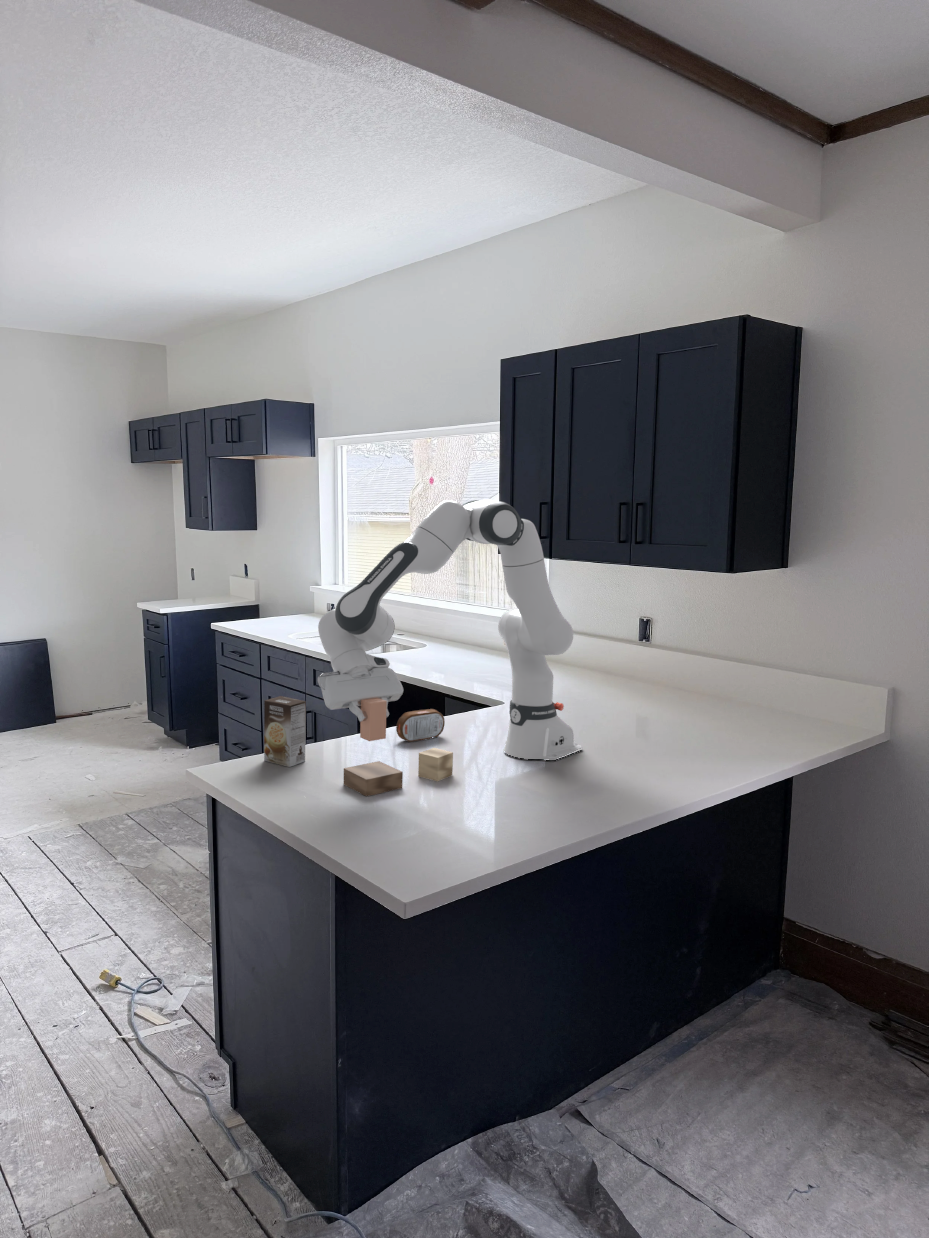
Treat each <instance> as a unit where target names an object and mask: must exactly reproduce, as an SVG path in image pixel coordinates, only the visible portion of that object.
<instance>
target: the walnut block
mask: <svg viewBox="0 0 929 1238" xmlns="http://www.w3.org/2000/svg"><path fill="white" fill-rule="evenodd" d="M403 778H404V776H403V771H402V770H399V769H398V768H396V767H393V766H392V765H391V766H390V765H389V764H386V763H384V762H382V761H380V760H377V761H374V762H368V763H363V764H362V763H361V764H359V765H353V766H349V767H348V766H347V767H344V768H343V785H344V786H345V787H348V788H350V789H351V790H353V791H355V792H357V793H359V794H361V795H363V796H365V797H369V796H374V795H379V794H383V793H384V794H385V793H388V792H392V791H396V790H400V789H403V782H404V781H403Z"/></svg>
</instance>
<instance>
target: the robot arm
mask: <svg viewBox="0 0 929 1238" xmlns="http://www.w3.org/2000/svg"><path fill="white" fill-rule="evenodd" d="M465 540H467V541H471V542H475V543H478V544H482V545H495V546H497V548H498V551H499V553H500V560H501V565H502V567H501V568H502V571H503V577H504V583H505V589H506V592H507V595H508V596H509V598H510V599H511V600H512V602H513V603H514V604H515V606H516V608H511V609H508V610H507V611H505V612H503V614H502V615H501V617H500V619H499V621H498V628H497V629H498V634H499V635H500V637H501V639H502V641H503V643H504V644H505V647H506V651H507V654H508V659H509V663H510V668H511V699H510V701H509V712H508V713H509V723H508V724H509V725H508V730H507V736H506V740H505V743H504V749H503V752H504V751H505V752H506V753H507V754H509V755H511V756H510V757H512V756H514V757H513V758H515V757H518V758H517V759H520V758H524V759H523V760H528V759H549V760H555V759H557V758H559V757H562V756H565V755H567V754H569V753H572V752H574V751H576V750H578V749H581V748H582V749H583V747H582V745H581V744H579V743H578V742H576V741H575V737H574V735H575V734H574V730H573V728H572V727H571V726H570V724H568V723H567V722H566V721H564V720H563V719H562V718H561V717H560V716H559V715H558V713H557V710H558V711H563V710H564V707H565V706H564V703H560V702H557V701H556V702H554V696H553V695H554V674H553V670H552V669H551V668H550V667H549V664H548V662H547V658H546V656H559V655H563V654H564V653H566V652H567V651H568V650H569V649H570V648H571V646H572V643H573V641H574V630H573V627H572V624H570V622H569V621H568V620H567V619H566V618H565V616H564V615H563V614H562V612H561V610H560V608H559V607H558V605H557V602H556V600H555V597H554V596H553V593H552V591H551V587H550V584H549V581H548V573H547V568H546V564H545V556H544V551H543V546H542V544H541V543H542V542H541V540H540V536H539V534H538V531H537V528H536V526H535V524H534V522H532V521H531V520H529V519H526V518H521V517H520V514H519V513H518V511H517V510H516V509H515V508H514V507H513V506H511V504H509V503H507V502H505V501H497V500H493V499H483V500H479V499H478V500H475V499H474V500H471V501H468V502H465V503H463V504H461V503H460V502H458V501H454V500H451V499H448V500H447V499H446V500H443V501H441V502H439V504H437V505H436V506H435V507H434V508H433V509H432V510H431V511H429V513H428V514H427V515H426V516H425V517H424V518H423V520H422V521H421V522H420V523H419V525H417V527H416V528H415V530H414V531H413V532H412V533H411V534H410V535H409V536H408V537H407V538H406V539H405V540H404V541H402V542H400V543H398V544H397V545H395V546H394V547H393V548H392V549H391V550H390V551H389V552H388V553H387V554H386V555H385V556H384V557H383V558H382V559H381V560H380V561H379V562H378V563H377V565H376V566H375V567H374V568H373V569H372V570H371V571H370V572H369V573H368V574H367V575H366V576H365V578H363V579H362V580H361V581H360V582H359V583H358V584H357V585H356V586H354V587H353V588H351V589H350V590H348V591H347V592H346V593H344V594H343V595H342V596H341V597H340V599H339V600H338V601H337V602H336V603H337V604H336V607H335V609H331V610H329V611H327V612H326V613H324V614H323V615H322V617H321V618H320V619H319V621H318V625H317V628H318V635H319V638H320V642H321V644H322V647H323V649H324V652H325V654H326V656H327V657H328V658H329V660H330V666H331V668H332V671H330V672H322V673H320V675H318V676H317V684H318V685H319V688H320V689H321V693H322V698H323V701H324V704H325V707H327V708H328V709H329V710H330V711H332V710H340V709H346V708H349V711H350V712H351V713H352V714H354V715H355V716H356V717H357V718H358V721H359V723H360V722H361V721H366V719H367V718H368V716H367V714H366V711H362V710H361V700H365V699H372V698H380V699H382V700H385V701H387V704H386V718H388V717H389V715H390V712H389V709H388V706H389V705H388V704H389V702H395V701H398V700H399V699H400V698H401V697H402V695H403V693H404V687H403V685H402V682H401V680H400V678H399V676H398V675H397V673H396V671H395V670H393V668H390V664H391V663H390V661H389V659H388V658H386V657H380V656H376V655H371V654H369V653H367V652H369V651H372V650H374V649H377V648H379V647H381V646H383V645H384V644H387V643H388V642H389V641H390V640H391V638H392V637H393V635H394V632H395V621H394V620H395V619H394V618H393V617H392V615H391V614H389V612H388V611H387V610H386V609H384V607H382V606H381V604H380V603H381V601H382V600H383V598H384V597H385V596H386V595H387V594H388V592H390V590H391V589H392V588H393V587H394V586H395V585H396V584H397V583H398V581H400V580H401V578H403V577H404V576H405V575H408V574H411V573H416V574H420V575H421V574H422V575H423V574H424V575H429V574H435V573H437V572H438V571H440V570H441V569H442V568H443V567H444V566H445V565H446V564H447V563H448V561H449V560H450V559H451V557H452V556H453V555H454V553H456V550H457V549H458V547H459V546H460V545H461V544H462V543H464V541H465ZM505 744H506V745H505ZM507 754H506V755H507ZM509 755H508V756H509Z"/></svg>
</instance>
